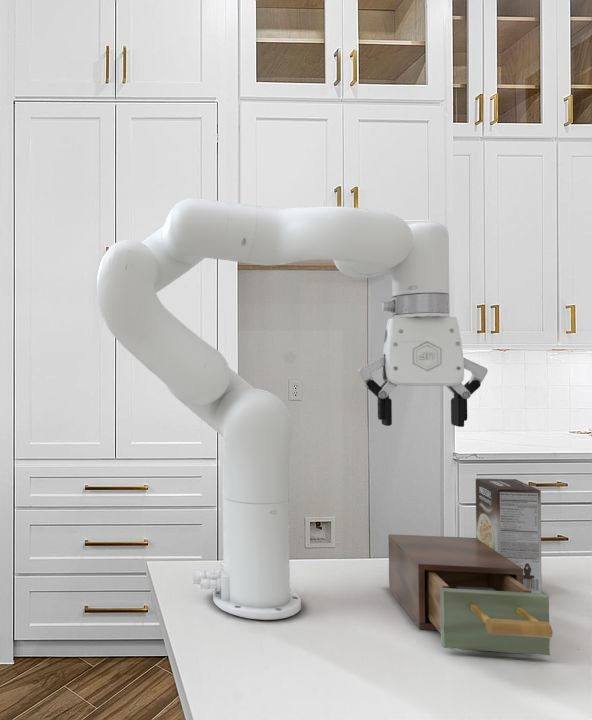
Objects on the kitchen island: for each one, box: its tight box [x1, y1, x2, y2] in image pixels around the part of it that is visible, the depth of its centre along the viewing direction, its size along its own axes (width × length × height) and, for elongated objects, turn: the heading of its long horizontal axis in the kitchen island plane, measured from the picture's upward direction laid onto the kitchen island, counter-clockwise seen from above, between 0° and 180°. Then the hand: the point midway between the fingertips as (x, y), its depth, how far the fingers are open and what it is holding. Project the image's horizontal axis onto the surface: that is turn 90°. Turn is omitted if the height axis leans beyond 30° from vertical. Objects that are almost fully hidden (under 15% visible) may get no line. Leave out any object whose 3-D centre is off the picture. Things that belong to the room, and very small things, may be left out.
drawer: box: [425, 570, 554, 656], centre depth 75 cm, size 20×11×7 cm, turn 170°
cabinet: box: [387, 533, 523, 631], centre depth 86 cm, size 15×13×9 cm
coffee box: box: [475, 478, 543, 593], centre depth 96 cm, size 9×6×16 cm
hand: (421, 425), depth 88 cm, fingers open, 9 cm apart
